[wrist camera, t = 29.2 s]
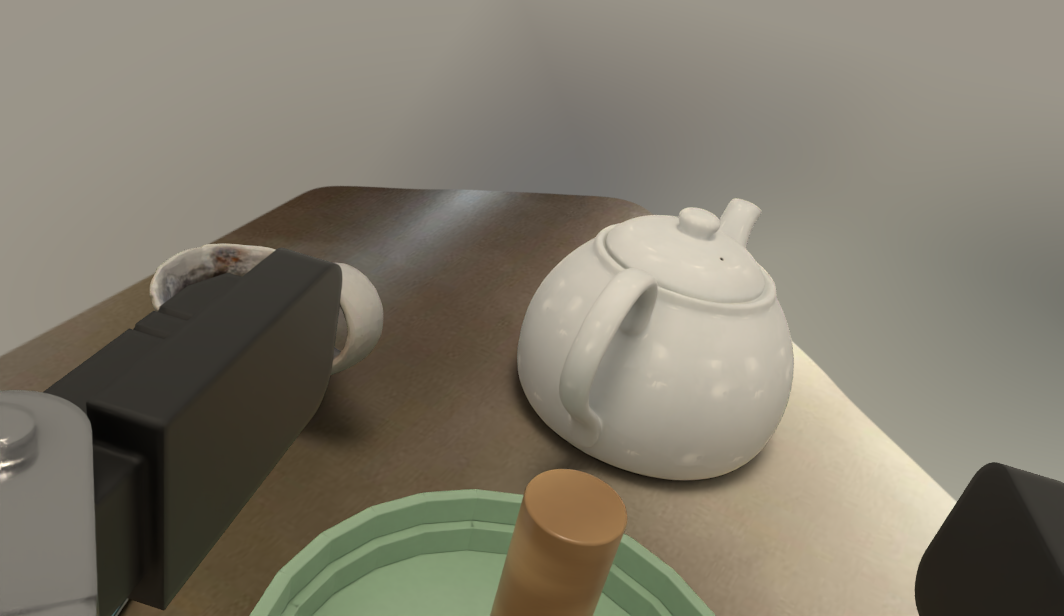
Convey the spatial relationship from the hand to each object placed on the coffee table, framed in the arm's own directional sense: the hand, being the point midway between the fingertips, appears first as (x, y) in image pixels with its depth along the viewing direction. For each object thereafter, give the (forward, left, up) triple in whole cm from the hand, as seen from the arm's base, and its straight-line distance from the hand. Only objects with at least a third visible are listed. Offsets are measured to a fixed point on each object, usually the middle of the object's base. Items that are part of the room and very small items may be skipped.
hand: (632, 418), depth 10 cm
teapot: (-6, +36, -23) cm, 43 cm away
